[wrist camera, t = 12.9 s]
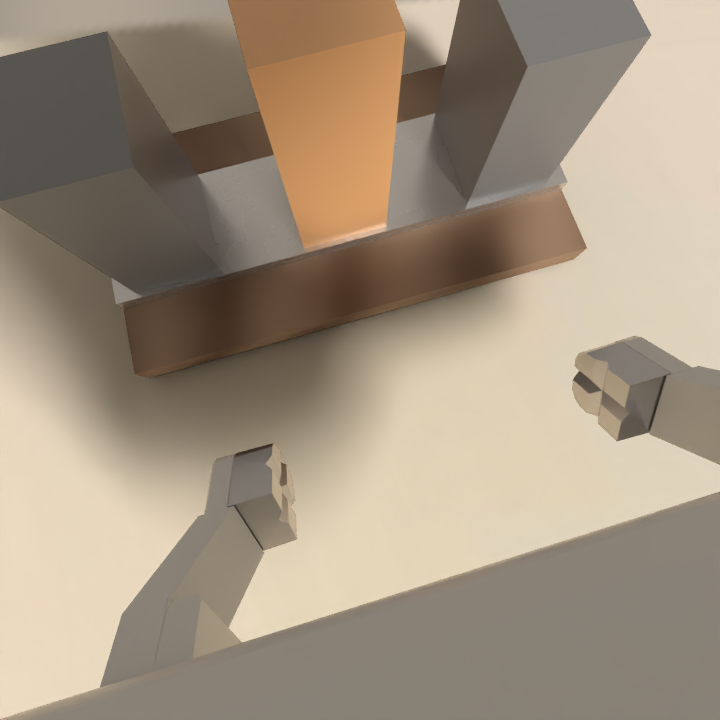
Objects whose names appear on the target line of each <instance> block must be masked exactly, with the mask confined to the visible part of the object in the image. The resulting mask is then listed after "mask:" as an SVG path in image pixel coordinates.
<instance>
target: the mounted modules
mask: <svg viewBox="0 0 720 720" xmlns="http://www.w3.org/2000/svg"><path fill="white" fill-rule="evenodd" d="M650 36H651V33H650V32H649V30H648V28H647V26H646V24H645V22H644V20H643V19H642V17H641V15H640V13H639V11H638V9H637V7H636V6H635V4H634V2H633V0H460V3H459V8H458V12H457V17H456V21H455V26H454V31H453V35H452V40H451V44H450V49H449V53H448V58H447V63H446V67H445V72H444V76H443V81H442V85H441V90H440V95H439V99H438V104H437V108H436V113H435V121H436V124H437V126H438V129H439V131H440V134H441V137H442V139H443V142H444V145H445V147H446V150H447V152H448V155H449V158H450V160H451V163H452V165H453V168H454V171H455V173H456V176H457V179H458V181H459V184H460V186H461V189H462V192H463V194H464V197H465V200H466V202H467V204H470V203H474V202H477V201H481V200H485V199H488V198H492V197H496V196H500V195H503V194H507V193H511V192H514V191H518V190H522V189H525V188H529V187H533V186H537V185H540V184H544V183H546V182H547V181H548V180H549V178H550V177H551V175H552V174H553V173H554V171H555V170H556V168H557V167H558V166H559V164H560V163H561V161H562V160H563V159H564V157H565V156H566V154H567V153H568V152H569V150H570V149H571V147H572V146H573V145H574V143H575V142H576V140H577V139H578V137H579V136H580V135H581V133H582V132H583V130H584V129H585V128H586V126H587V125H588V123H589V122H590V121H591V119H592V118H593V116H594V115H595V114H596V112H597V111H598V109H599V108H600V107H601V105H602V104H603V102H604V101H605V100H606V98H607V97H608V95H609V94H610V93H611V91H612V90H613V88H614V87H615V86H616V84H617V83H618V81H619V80H620V79H621V77H622V76H623V74H624V73H625V72H626V70H627V69H628V67H629V66H630V64H631V63H632V62H633V60H634V59H635V57H636V56H637V55H638V53H639V52H640V50H641V49H642V48H643V46H644V45H645V43H646V42H647V41H648V39H649V38H650ZM0 208H2V209H4V210H5V211H7V212H8V213H10V214H12V215H13V216H15V217H16V218H18V219H19V220H21V221H23V222H24V223H26V224H27V225H29V226H30V227H32V228H34V229H35V230H37V231H38V232H40V233H42V234H43V235H45V236H46V237H48V238H49V239H51V240H53V241H54V242H56V243H57V244H59V245H60V246H62V247H64V248H65V249H67V250H68V251H70V252H72V253H73V254H75V255H76V256H78V257H79V258H81V259H83V260H84V261H86V262H87V263H89V264H90V265H92V266H94V267H95V268H97V269H98V270H100V271H102V272H103V273H105V274H106V275H108V276H109V277H111V278H113V279H114V280H116V281H117V282H119V283H120V284H122V285H124V286H125V287H127V288H128V289H130V290H132V291H133V292H135V293H136V294H137V293H140V292H144V291H148V290H151V289H155V288H159V287H163V286H166V285H170V284H174V283H177V282H181V281H185V280H188V279H192V278H196V277H200V276H203V275H207V274H211V273H214V272H218V271H222V270H221V266H220V262H219V258H218V253H217V249H216V245H215V240H214V236H213V232H212V227H211V223H210V219H209V215H208V210H207V206H206V202H205V197H204V193H203V189H202V184H201V180H200V178H199V176H198V174H197V173H196V171H195V170H194V168H193V167H192V165H191V163H190V162H189V160H188V159H187V157H186V156H185V154H184V152H183V151H182V149H181V148H180V146H179V144H178V143H177V141H176V140H175V138H174V137H173V135H172V133H171V132H170V130H169V129H168V127H167V126H166V124H165V122H164V121H163V119H162V118H161V116H160V114H159V113H158V111H157V110H156V108H155V107H154V105H153V103H152V102H151V100H150V99H149V97H148V96H147V94H146V92H145V91H144V89H143V88H142V86H141V84H140V83H139V81H138V80H137V78H136V77H135V75H134V73H133V72H132V70H131V69H130V67H129V66H128V64H127V62H126V61H125V59H124V58H123V56H122V54H121V53H120V51H119V50H118V48H117V47H116V45H115V43H114V42H113V40H112V39H111V37H110V36H109V34H108V32H103V33H99V34H95V35H90V36H86V37H82V38H78V39H74V40H69V41H65V42H61V43H57V44H53V45H49V46H44V47H40V48H36V49H32V50H28V51H23V52H19V53H15V54H11V55H7V56H3V57H0Z"/></svg>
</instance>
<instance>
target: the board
mask: <svg viewBox="0 0 720 720" xmlns="http://www.w3.org/2000/svg"><path fill="white" fill-rule="evenodd" d="M445 67H446V65H442V66H438V67H434V68H430V69H426V70H423V71H419V72H415V73H411V74H407V75H403V76H401V83H400V93H399V103H398V113H397V123H400V122H403V121H407V120H411V119H415V118H419V117H423V116H427V115H431V114H434V113H436V108H437V104H438V99H439V95H440V90H441V85H442V81H443V76H444V72H445ZM172 135H173V137H174V138H175V140H176V141H177V143H178V144H179V146H180V148H181V149H182V151H183V152H184V154H185V156H186V157H187V159H188V160H189V162H190V163H191V165H192V167H193V168H194V170H195V171H196V173H197V174H202V173H206V172H210V171H214V170H218V169H221V168H225V167H229V166H233V165H237V164H241V163H245V162H249V161H252V160H256V159H260V158H264V157H268V156H272V155H274V153H273V150H272V147H271V143H270V140H269V137H268V134H267V131H266V128H265V125H264V122H263V118H262V115H261V112H256V113H252V114H248V115H244V116H241V117H237V118H233V119H229V120H225V121H221V122H217V123H213V124H209V125H205V126H201V127H197V128H193V129H189V130H185V131H181V132H177V133H173V134H172ZM586 248H587V247H586V245H585V242H584V240H583V238H582V236H581V233H580V231H579V229H578V227H577V224H576V222H575V220H574V217H573V215H572V213H571V211H570V208H569V206H568V204H567V202H566V199H565V197H564V195H563V192H562V190H559V191H555V192H552V193H548V194H544V195H541V196H537V197H533V198H530V199H526V200H522V201H519V202H515V203H511V204H508V205H504V206H500V207H496V208H493V209H489V210H485V211H482V212H478V213H474V214H471V215H467V216H463V217H460V218H456V219H452V220H449V221H445V222H441V223H438V224H434V225H430V226H426V227H423V228H419V229H415V230H412V231H408V232H404V233H401V234H397V235H393V236H390V237H386V238H382V239H379V240H375V241H371V242H367V243H364V244H360V245H356V246H353V247H349V248H345V249H342V250H338V251H334V252H331V253H327V254H323V255H320V256H316V257H312V258H309V259H305V260H301V261H297V262H294V263H290V264H286V265H283V266H279V267H275V268H272V269H268V270H264V271H261V272H257V273H253V274H250V275H246V276H242V277H238V278H235V279H231V280H227V281H224V282H220V283H216V284H213V285H209V286H205V287H202V288H198V289H194V290H191V291H187V292H183V293H180V294H176V295H172V296H168V297H165V298H161V299H157V300H154V301H150V302H146V303H143V304H139V305H135V306H132V307H128V308H124V313H125V319H126V325H127V331H128V336H129V342H130V348H131V354H132V359H133V365H134V371H135V374H137V375H140V376H144V377H148V378H151V377H155V376H158V375H162V374H166V373H169V372H173V371H176V370H180V369H183V368H187V367H191V366H194V365H198V364H201V363H205V362H208V361H212V360H216V359H219V358H223V357H226V356H230V355H233V354H237V353H241V352H244V351H248V350H251V349H255V348H258V347H262V346H266V345H269V344H273V343H276V342H280V341H283V340H287V339H291V338H294V337H298V336H301V335H305V334H308V333H312V332H315V331H319V330H323V329H326V328H330V327H333V326H337V325H340V324H344V323H348V322H351V321H355V320H358V319H362V318H365V317H369V316H373V315H376V314H380V313H383V312H387V311H390V310H394V309H398V308H401V307H405V306H408V305H412V304H415V303H419V302H423V301H426V300H430V299H433V298H437V297H440V296H444V295H448V294H451V293H455V292H458V291H462V290H465V289H469V288H473V287H476V286H480V285H483V284H487V283H490V282H494V281H498V280H501V279H505V278H508V277H512V276H515V275H519V274H523V273H526V272H530V271H533V270H537V269H540V268H544V267H548V266H551V265H555V264H558V263H562V262H565V261H569V260H573V259H574V258H576V257H577V256H578V255H579V254H580V253H582V252H583V251H584V250H585V249H586Z"/></svg>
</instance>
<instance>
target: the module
mask: <svg viewBox="0 0 720 720" xmlns="http://www.w3.org/2000/svg"><path fill="white" fill-rule="evenodd" d="M228 3H229V7H230V10H231V14H232V18H233V21H234V25H235V28H236V32H237V36H238V39H239V43H240V46H241V50H242V54H243V57H244V61H245V64H246V68H247V71H248V74H249V78H250V81H251V84H252V87H253V90H254V93H255V96H256V100H257V103H258V106H259V109H260V112H261V115H262V118H263V122H264V125H265V128H266V131H267V134H268V137H269V140H270V143H271V147H272V150H273V153H274V156H275V159H276V162H277V165H278V169H279V172H280V175H281V178H282V181H283V184H284V187H285V190H286V194H287V197H288V200H289V203H290V206H291V209H292V212H293V216H294V219H295V222H296V225H297V228H298V231H299V234H300V237H301V241H302V244H303V247H304V248H308V247H312V246H315V245H319V244H323V243H326V242H330V241H334V240H337V239H341V238H345V237H349V236H352V235H356V234H360V233H363V232H367V231H371V230H374V229H378V228H382V227H385V226H386V221H387V211H388V201H389V191H390V182H391V172H392V162H393V152H394V142H395V132H396V123H397V113H398V103H399V93H400V83H401V73H402V63H403V54H404V44H405V34H406V29H405V27H404V24H403V22H402V19H401V17H400V14H399V11H398V9H397V6H396V4H395V1H394V0H228Z"/></svg>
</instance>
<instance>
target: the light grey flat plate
mask: <svg viewBox="0 0 720 720" xmlns="http://www.w3.org/2000/svg"><path fill="white" fill-rule="evenodd" d="M198 176H199V178H200V180H201V184H202V189H203V193H204V197H205V202H206V206H207V210H208V215H209V219H210V223H211V227H212V232H213V236H214V240H215V245H216V249H217V253H218V258H219V262H220V266H221V270H222V271H218V272H214V273H211V274H207V275H203V276H200V277H196V278H192V279H188V280H185V281H181V282H177V283H174V284H170V285H166V286H163V287H159V288H155V289H151V290H148V291H144V292H140V293H137V294H136V293H135V292H133V291H132V290H130V289H128V288H127V287H125V286H124V285H122V284H120V283H119V282H117V281H116V280H114V279H113V278H111V280H112V286H113V292H114V298H115V303H116V305H118V306H120V307H121V308H123V309H124V308H128V307H132V306H135V305H139V304H143V303H146V302H150V301H154V300H157V299H161V298H165V297H168V296H172V295H176V294H180V293H183V292H187V291H191V290H194V289H198V288H202V287H205V286H209V285H213V284H216V283H220V282H224V281H227V280H231V279H235V278H238V277H242V276H246V275H250V274H253V273H257V272H261V271H264V270H268V269H272V268H275V267H279V266H283V265H286V264H290V263H294V262H297V261H301V260H305V259H309V258H312V257H316V256H320V255H323V254H327V253H331V252H334V251H338V250H342V249H345V248H349V247H353V246H356V245H360V244H364V243H367V242H371V241H375V240H379V239H382V238H386V237H390V236H393V235H397V234H401V233H404V232H408V231H412V230H415V229H419V228H423V227H426V226H430V225H434V224H438V223H441V222H445V221H449V220H452V219H456V218H460V217H463V216H467V215H471V214H474V213H478V212H482V211H485V210H489V209H493V208H496V207H500V206H504V205H508V204H511V203H515V202H519V201H522V200H526V199H530V198H533V197H537V196H541V195H544V194H548V193H552V192H555V191H559V190H562V189H563V187H564V186H565V185H566V183H567V180H566V177H565V175H564V173H563V171H562V168H561V166H560V164H559V166H558V167H557V168H556V170H555V171H554V173H553V174H552V175H551V177H550V178H549V180H548V181H547V182H546V183H544V184H540V185H537V186H533V187H529V188H525V189H522V190H518V191H514V192H511V193H507V194H503V195H500V196H496V197H492V198H488V199H485V200H481V201H477V202H474V203H470V204H467V202H466V200H465V197H464V194H463V192H462V189H461V186H460V184H459V181H458V179H457V176H456V173H455V171H454V168H453V165H452V163H451V160H450V158H449V155H448V152H447V150H446V147H445V145H444V142H443V139H442V137H441V134H440V131H439V129H438V126H437V124H436V121H435V113H434V114H431V115H427V116H423V117H419V118H415V119H411V120H407V121H403V122H400V123H396V132H395V142H394V152H393V162H392V172H391V182H390V191H389V201H388V211H387V221H386V226H385V227H382V228H378V229H374V230H371V231H367V232H363V233H360V234H356V235H352V236H349V237H345V238H341V239H337V240H334V241H330V242H326V243H323V244H319V245H315V246H312V247H308V248H304V247H303V244H302V241H301V237H300V234H299V231H298V228H297V225H296V222H295V219H294V216H293V212H292V209H291V206H290V203H289V200H288V197H287V194H286V190H285V187H284V184H283V181H282V178H281V175H280V172H279V169H278V165H277V162H276V159H275V156H274V155H272V156H268V157H264V158H260V159H256V160H252V161H249V162H245V163H241V164H237V165H233V166H229V167H225V168H221V169H218V170H214V171H210V172H206V173H202V174H198Z"/></svg>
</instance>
